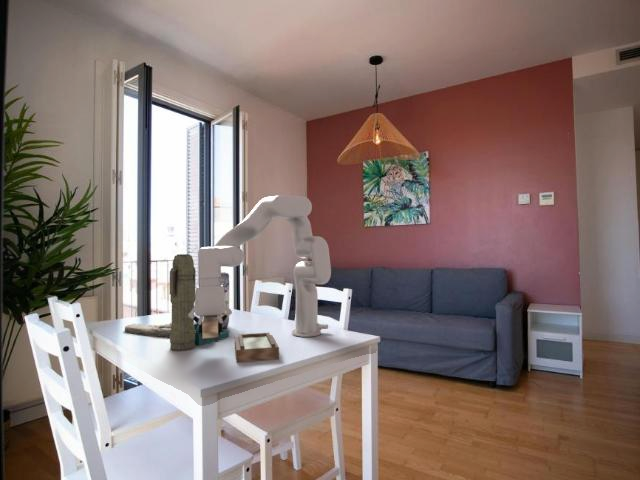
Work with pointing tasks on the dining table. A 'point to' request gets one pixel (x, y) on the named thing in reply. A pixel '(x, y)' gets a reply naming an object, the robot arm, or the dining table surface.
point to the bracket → (199, 338)
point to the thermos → (182, 302)
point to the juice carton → (226, 290)
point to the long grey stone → (150, 329)
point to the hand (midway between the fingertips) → (210, 334)
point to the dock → (256, 347)
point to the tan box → (210, 327)
